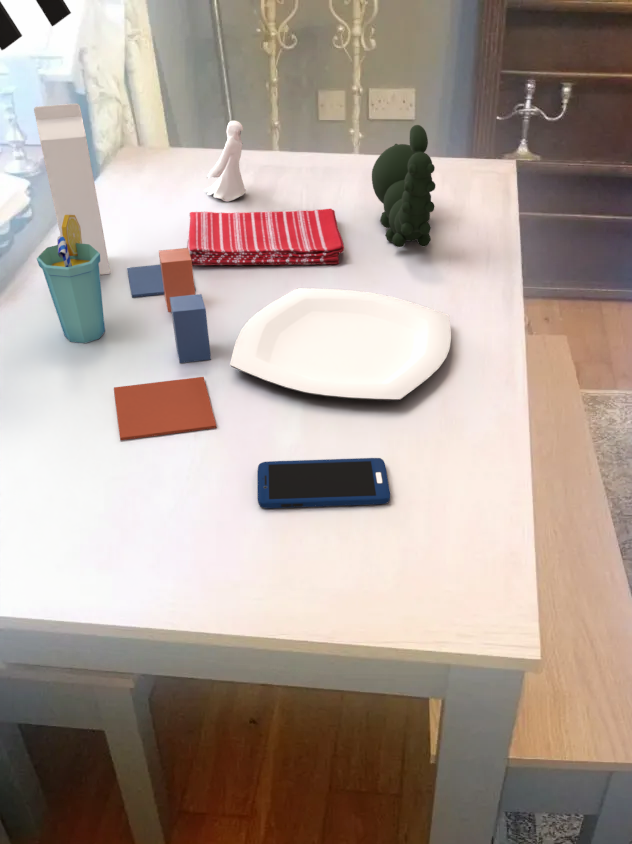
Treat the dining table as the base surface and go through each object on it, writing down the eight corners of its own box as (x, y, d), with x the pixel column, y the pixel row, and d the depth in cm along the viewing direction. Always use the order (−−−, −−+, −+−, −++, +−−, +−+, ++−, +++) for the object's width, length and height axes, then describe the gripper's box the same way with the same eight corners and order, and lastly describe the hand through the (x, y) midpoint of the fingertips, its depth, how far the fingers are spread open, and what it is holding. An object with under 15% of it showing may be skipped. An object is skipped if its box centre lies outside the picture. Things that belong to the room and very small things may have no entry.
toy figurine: (443, 271, 137) (420, 194, 153) (458, 143, 122) (430, 72, 138) (382, 273, 136) (365, 195, 152) (390, 144, 122) (369, 73, 138)
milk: (110, 274, 132) (82, 110, 116) (68, 279, 131) (34, 114, 115) (106, 256, 136) (78, 96, 120) (65, 261, 135) (32, 99, 119)
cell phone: (391, 504, 94) (391, 498, 93) (257, 509, 93) (257, 503, 92) (384, 462, 99) (384, 456, 98) (257, 466, 98) (257, 461, 98)
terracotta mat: (120, 440, 102) (119, 437, 102) (114, 390, 109) (113, 387, 109) (216, 428, 104) (216, 425, 103) (204, 379, 111) (203, 376, 111)
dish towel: (345, 265, 134) (345, 248, 132) (185, 267, 133) (184, 250, 131) (336, 220, 146) (336, 203, 144) (190, 221, 145) (188, 204, 143)
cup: (116, 360, 114) (94, 243, 104) (53, 366, 113) (25, 249, 103) (112, 309, 124) (92, 198, 114) (55, 314, 123) (29, 202, 112)
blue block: (179, 363, 114) (172, 311, 109) (176, 348, 117) (169, 296, 112) (211, 359, 115) (205, 308, 110) (206, 344, 117) (201, 293, 112)
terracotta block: (168, 312, 124) (161, 262, 119) (165, 299, 126) (158, 250, 121) (197, 309, 124) (191, 259, 119) (193, 296, 127) (187, 247, 122)
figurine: (239, 206, 150) (234, 129, 142) (195, 200, 152) (187, 124, 143) (254, 189, 155) (250, 114, 147) (212, 184, 157) (205, 109, 148)
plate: (413, 428, 104) (414, 413, 103) (203, 384, 110) (202, 369, 109) (470, 322, 122) (472, 309, 120) (287, 290, 128) (286, 277, 127)
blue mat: (132, 297, 127) (131, 295, 126) (127, 270, 133) (126, 267, 133) (195, 291, 128) (195, 288, 128) (188, 264, 134) (187, 261, 134)
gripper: (-146, -213, 79) (14, 35, 91) (-18, -212, 98) (102, -6, 109) (-197, -160, 83) (-37, 73, 94) (-64, -169, 101) (57, 27, 112)
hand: (38, 31), depth 101 cm, fingers open, 13 cm apart
